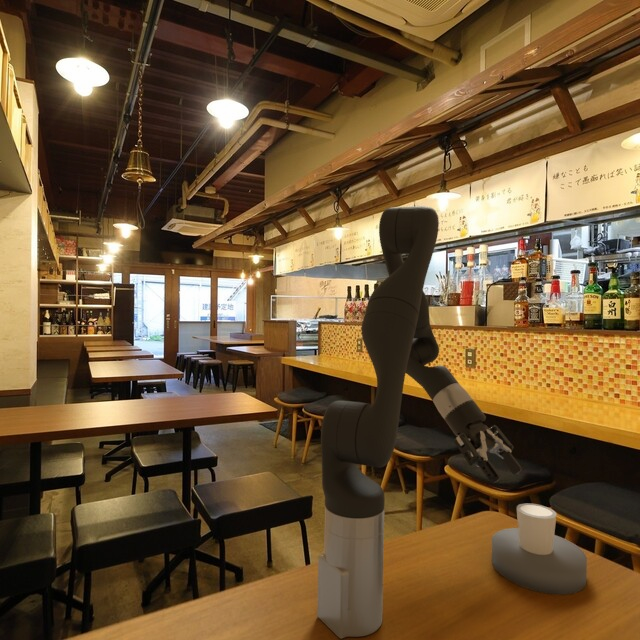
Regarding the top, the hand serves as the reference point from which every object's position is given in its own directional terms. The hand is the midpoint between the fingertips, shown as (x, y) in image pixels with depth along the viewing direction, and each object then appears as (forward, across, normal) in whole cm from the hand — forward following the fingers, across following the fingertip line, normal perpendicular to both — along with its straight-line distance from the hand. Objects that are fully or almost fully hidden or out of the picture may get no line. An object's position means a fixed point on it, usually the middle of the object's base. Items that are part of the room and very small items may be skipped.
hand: (508, 476), depth 89 cm
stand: (+15, 0, +7) cm, 17 cm away
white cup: (+12, 0, +4) cm, 13 cm away
